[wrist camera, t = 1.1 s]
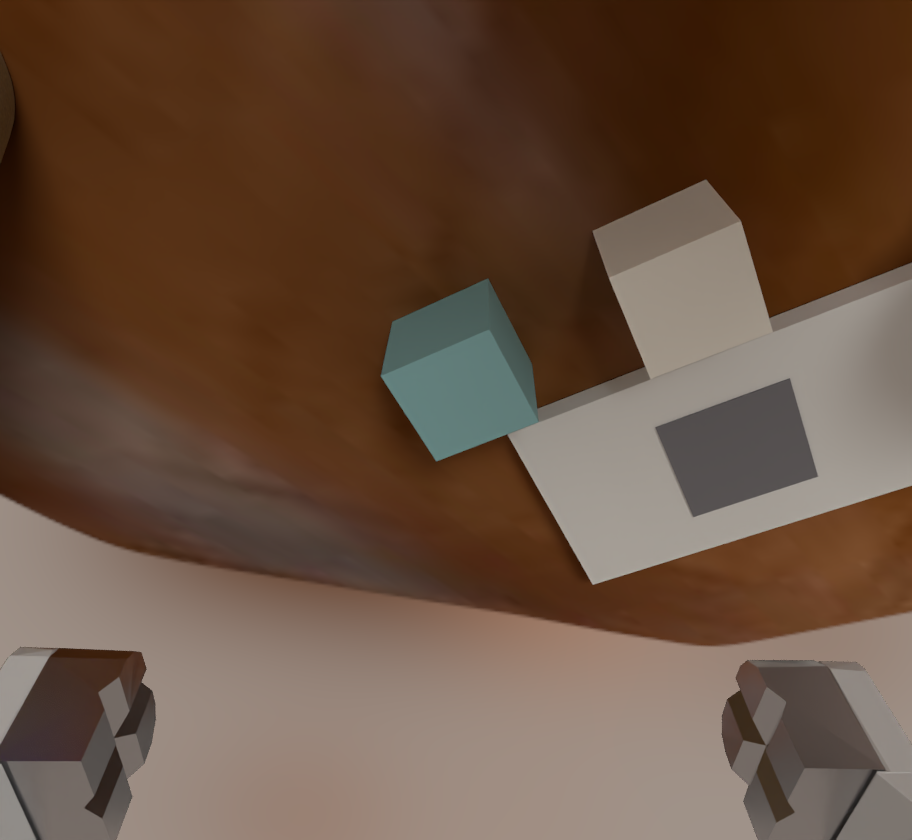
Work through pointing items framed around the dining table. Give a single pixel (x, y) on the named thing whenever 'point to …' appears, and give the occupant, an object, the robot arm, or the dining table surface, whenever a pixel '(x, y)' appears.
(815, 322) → the white flat board
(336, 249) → the dining table surface
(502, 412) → the teal block
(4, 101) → the plant pot
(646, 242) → the off-white block
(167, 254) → the dining table surface
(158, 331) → the dining table surface
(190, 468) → the dining table surface
